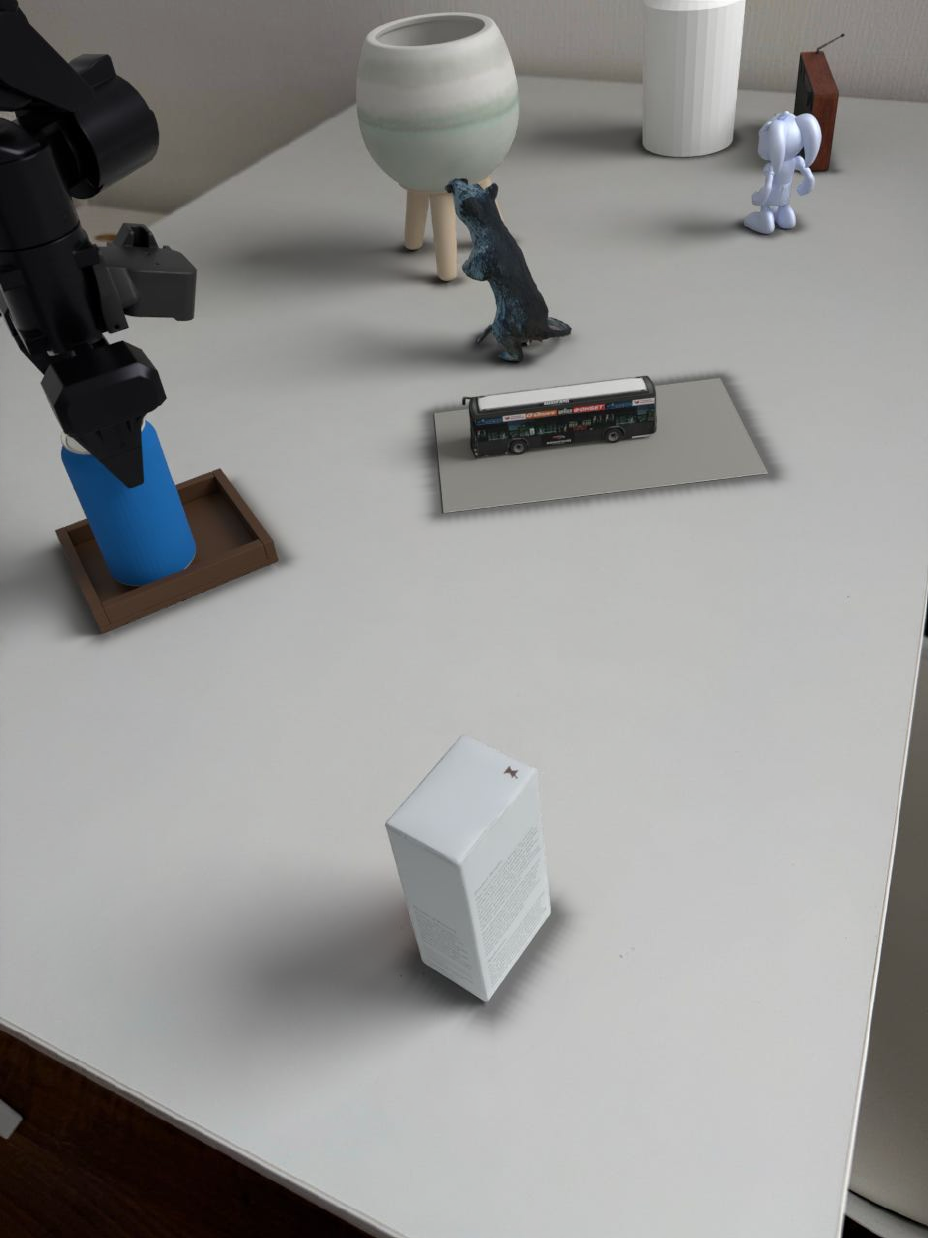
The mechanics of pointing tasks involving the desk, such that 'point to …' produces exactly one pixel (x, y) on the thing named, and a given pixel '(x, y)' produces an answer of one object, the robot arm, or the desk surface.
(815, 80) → the radio
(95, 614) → the walnut tray
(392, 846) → the cosmetic box
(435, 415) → the model bus display
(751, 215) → the toy figurine
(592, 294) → the desk surface
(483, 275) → the sculpture
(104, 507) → the beverage can
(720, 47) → the bottle
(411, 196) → the planter
